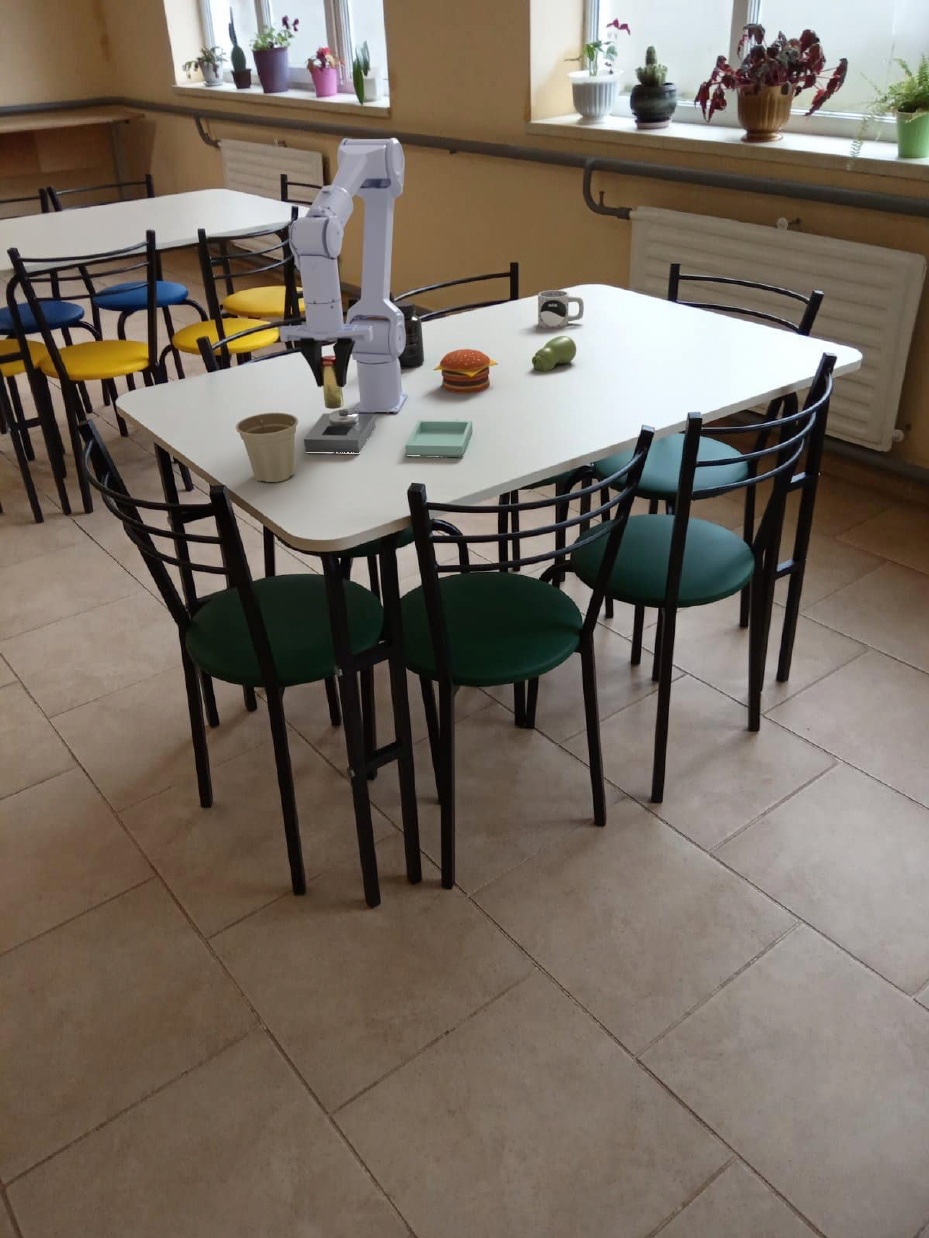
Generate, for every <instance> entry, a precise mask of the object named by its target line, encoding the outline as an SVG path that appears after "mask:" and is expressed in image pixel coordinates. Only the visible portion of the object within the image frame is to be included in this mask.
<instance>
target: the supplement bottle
mask: <svg viewBox="0 0 929 1238" xmlns="http://www.w3.org/2000/svg"><path fill="white" fill-rule="evenodd" d="M392 303H393V304H394V305H395V306H396V307H397V308H398V309H399V310H400V311H401V312H402V313H403V315H404V327H405V333H406V343H405V348H404V350H403V352H402V353H401V355H400V356H399V357H397V358H398V359H399V362H400V369H411V368H415V367H419V366H421V365H423V364H424V362H425V354H424V353H425V352H424V341H423V340H424V339H423V328H422V319H421V318H420V317H419V316H418V315H416V310H417V309H416V303H415V302H414V301H411V300H399V301H394V302H392Z"/></svg>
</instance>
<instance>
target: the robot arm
mask: <svg viewBox="0 0 929 1238" xmlns="http://www.w3.org/2000/svg"><path fill="white" fill-rule="evenodd" d="M336 157H337V158H336V159H337V160H336V161H337V171H336V173H335V176H334V178H333V181H332V182H331V184H330V185H324V186H323V187H322V188H321V189H320V190H319V192H318V194H317V195H316V197H315V199H314V201H313V202H312V204H311V206H310V207H309V208H308V210H307V212H306V214H305V216H301V217H297V219H296V220H294V221H293V222H292V224H291V226H290V229H289V239H288V243H289V248H290V250H291V253H292V255H293V257H294V260H295V266H296V269H297V270H298V271H299V272H300V278H301V279H300V281H301V286H302V287H301V288H302V296H303V303H304V312H305V320H306V321H305V322H306V324H299V325H283V326H281V327H280V329H279V337H280V342H281V343H283V342H284V343H285V342H289V341H300V343H299V345H298V350H299V352H300V353H301V355H302V356H303V358H304V359H305V361H306V362H307V364H308V365H309V368H310V370H311V372H312V374H313V378H314V380H315V383H316V386H317V387H318V388H323V384H322V376H321V367H320V358H321V357H323V341H336V342H335V343H334V345H333V346H332V349H333V352H334V353H333V354H334V356H335V358H336V363H337V369H338V383H339V387H342V388H344V387H345V385H346V384H347V377H348V368H349V364H350V359H351V358H352V360H353V361H356V369H357V371H356V372H357V379H358V380H357V381H358V392H359V393H358V394H359V399H360V400H359V402H358V404H357V405H356V406H355V408H354V409H353V410H356V411H358V413H375V412H387V413H388V414H390V413H389V412H394V413H393V414H395V413H396V412H397V413H399V411H400V410H401V408H402V406H403V404H404V403H405V401H406V400H407V397H408V396H409V395H408V393H407V392H403V385H402V384H403V383H402V373H401V372H402V370H401V368H400V362H399V359H398V358H397V357H399V356H400V355H401V353H402V352H403V350H404V348H405V343H406V333H405V327H404V315H403V313H402V312H401V311H400V310H399V309H398V308H397V307H396V306H395V305H394V304H393V303H394V302H392V301H391V300H390V295H391V293H390V291H391V277H392V276H391V274H392V273H391V271H392V270H391V269H392V253H393V249H392V248H393V231H394V230H393V229H394V213H395V212H394V211H395V200H396V199H397V198H398V197H399V196H401V195H403V192H404V191H403V187H404V183H405V165H406V163H405V161H406V160H405V154H404V151H403V147H402V144H401V142H400V141H399V139H397V138H396V137H390V138H380V139H379V138H378V139H377V138H374V139H371V138H367V139H365V138H363V139H362V138H361V139H360V138H359V139H353V138H352V139H351V138H348V137H347V138H343V139H342V140H341V142H340V144H339V145H338V148H337V155H336ZM354 196H357V197H359V198H362V200H363V203H364V223H363V245H362V269H361V289H360V290H361V291H360V292H361V293H360V299H359V300H358V301H356V302H355V304H354V305H352V306H351V307H350V308H349V309H348V310H347V313H346V322H345V323H344V315H343V305H342V296H341V287H340V286H341V284H340V274H339V268H338V267H339V265H338V256H339V255H340V254H341V251H342V247H343V238H344V234H345V232H344V228H345V226H346V225H347V223H348V221H349V219H350V218H351V215H352V214H353V212H354V202H353V197H354ZM369 318H370V319H369ZM371 318H372V319H371ZM373 318H378V319H373ZM379 318H381V319H379ZM382 318H383V319H382ZM351 355H352V356H351Z"/></svg>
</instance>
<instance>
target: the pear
mask: <svg viewBox="0 0 929 1238" xmlns="http://www.w3.org/2000/svg"><path fill="white" fill-rule="evenodd" d="M576 354H577V346H576V343H575V342H574V340H573V339H572V338H571V337H569V336H566V335H559V336H556V337H553V338H552V339H550V340H549V341H547V343H545V345H544V346H543V347H542V348H540V349H539V350H537V351H536V352H535V353H534V356H532V359H531V363H532V366H533V368H534V369H536V370H538V371H541V372H549V371H552V370H553V369H554V368H555V366H556V365H557V364H561V365H563V364H564V365H565V364H568V363H570V362H571V361H573V360H574V358H575V357H576Z"/></svg>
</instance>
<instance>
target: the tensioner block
mask: <svg viewBox="0 0 929 1238" xmlns="http://www.w3.org/2000/svg"><path fill="white" fill-rule="evenodd" d="M374 428H375V429H376V417H375V414H374V413H360V412H358V411H356V410H354V409H351V408H350V409H349V408H344V409H343V408H342V409H337V410H334V411H332V412H330V413H328V412H327V413H324V412H323V413H322V414H321V416H320V417H319V419H318V420H317V421H316V423H314V425H313V426H312V428H311V429H310V431H308V433H307V434H306V436H305V437H304V438H303V442H304V443H303V444H304V448H305V449H304V451H305V453H306V452H334V453H336V452H338V453H340V452H341V453H342V452H343V453H344V452H345V453H347V452H349V453H351V452H352V453H353V452H354V453H359V452H360V451H361V449H362V448H363V446H364V445H365V446H366V444H367V443H366V441H367V439H368V438H369V437H370V438H371V436H372V435H371V433H372V431H373V430H374ZM374 431H375V430H374ZM374 431H373V432H374ZM372 434H373V433H372ZM370 435H371V436H370ZM370 438H369V439H370ZM367 442H368V441H367ZM365 443H366V444H365ZM365 446H364V447H365ZM363 449H364V448H363ZM363 449H362V450H363ZM361 452H362V451H361Z"/></svg>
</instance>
